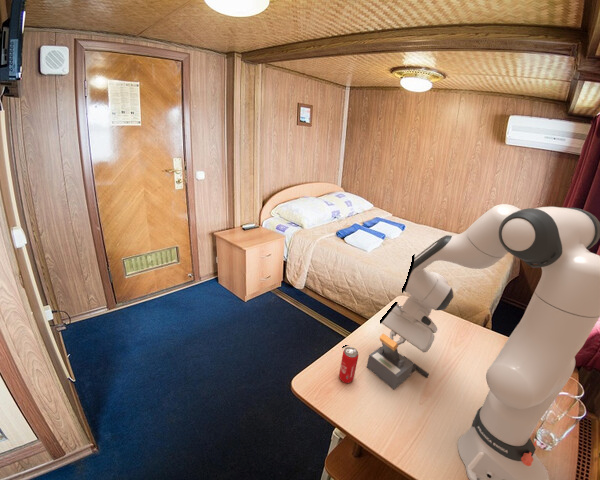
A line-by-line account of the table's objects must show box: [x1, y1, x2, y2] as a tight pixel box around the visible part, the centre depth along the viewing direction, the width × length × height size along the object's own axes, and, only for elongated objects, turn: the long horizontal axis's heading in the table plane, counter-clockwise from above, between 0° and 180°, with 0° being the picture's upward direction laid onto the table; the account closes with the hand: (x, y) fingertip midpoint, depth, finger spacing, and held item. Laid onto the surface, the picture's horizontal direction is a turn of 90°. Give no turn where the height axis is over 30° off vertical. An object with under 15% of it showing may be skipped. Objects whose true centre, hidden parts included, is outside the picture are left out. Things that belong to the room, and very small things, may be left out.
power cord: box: [403, 355, 430, 378], centre depth 112 cm, size 11×5×2 cm, turn 40°
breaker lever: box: [379, 333, 401, 364], centre depth 104 cm, size 6×2×13 cm
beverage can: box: [338, 346, 359, 384], centre depth 104 cm, size 5×5×12 cm
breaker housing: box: [366, 345, 414, 391], centre depth 109 cm, size 12×12×9 cm
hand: (391, 346), depth 104 cm, fingers closed, pressing on breaker lever
